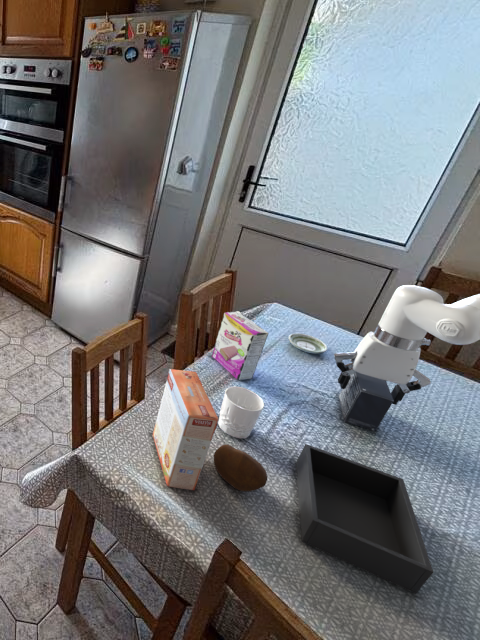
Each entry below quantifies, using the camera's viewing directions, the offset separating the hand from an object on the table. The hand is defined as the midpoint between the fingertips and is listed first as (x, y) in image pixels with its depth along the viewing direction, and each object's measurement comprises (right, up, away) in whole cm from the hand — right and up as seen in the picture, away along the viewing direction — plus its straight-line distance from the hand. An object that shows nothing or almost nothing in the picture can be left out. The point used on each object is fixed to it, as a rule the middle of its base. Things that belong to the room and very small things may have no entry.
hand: (366, 393), depth 102 cm
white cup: (-34, -9, -1) cm, 35 cm away
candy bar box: (-22, +1, +19) cm, 29 cm away
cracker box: (-53, -13, -9) cm, 55 cm away
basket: (-25, -18, -21) cm, 37 cm away
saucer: (+7, +5, +27) cm, 28 cm away
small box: (0, -7, +3) cm, 7 cm away
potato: (-42, -15, -13) cm, 46 cm away
